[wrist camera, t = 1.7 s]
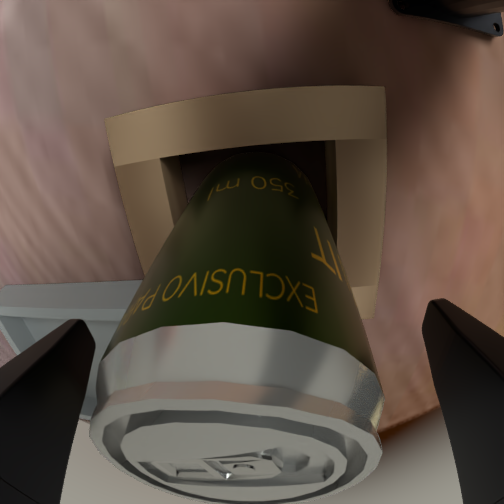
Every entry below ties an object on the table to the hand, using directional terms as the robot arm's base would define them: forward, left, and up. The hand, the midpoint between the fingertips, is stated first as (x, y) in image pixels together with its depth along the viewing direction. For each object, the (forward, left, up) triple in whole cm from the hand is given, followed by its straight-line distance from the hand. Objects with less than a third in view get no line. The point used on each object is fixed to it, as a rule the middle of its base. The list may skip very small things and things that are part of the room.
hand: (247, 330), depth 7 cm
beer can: (0, 0, -9) cm, 9 cm away
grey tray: (+13, +10, -8) cm, 19 cm away
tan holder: (0, 0, -8) cm, 8 cm away
